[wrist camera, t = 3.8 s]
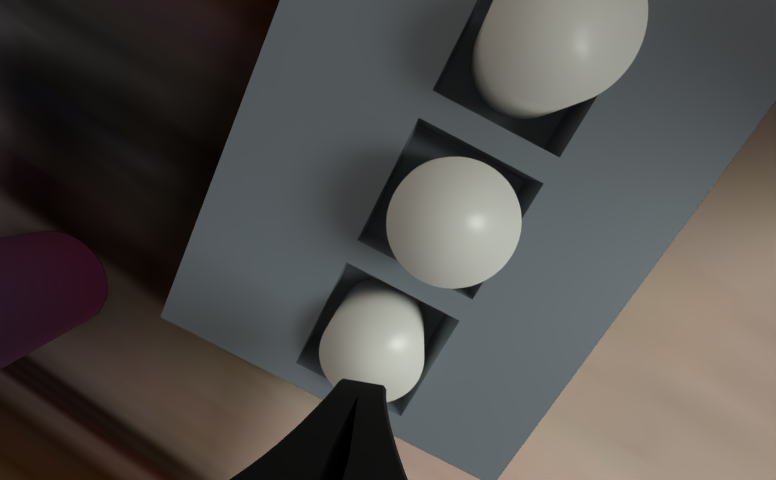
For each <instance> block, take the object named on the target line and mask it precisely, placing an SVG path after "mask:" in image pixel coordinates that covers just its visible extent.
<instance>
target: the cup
mask: <svg viewBox="0 0 776 480" xmlns="http://www.w3.org/2000/svg"><path fill="white" fill-rule="evenodd" d="M106 293H107V283H106V277H105V273H104V271H103V268H102V266H101V264H100V262H99V260H98V259H97V257H96V256H95V255H94V253H93V252H92V251H91V250H90V249H89V248H88V247H87V246H86V245H85V244H84V243H82V242H81V241H79V240H78V239H76V238H75V237H72V236H70V235H67V234H65V233H60V232H56V231H46V232H38V233H31V234H23V235H15V236H7V237H0V369H1V368H3V367H5V366H7V365H8V364H10V363H12V362H14V361H16V360H17V359H19V358H21V357H23V356H24V355H26V354H28V353H30V352H32V351H33V350H35V349H37V348H39V347H41V346H42V345H44V344H46V343H48V342H50V341H51V340H53V339H55V338H57V337H58V336H60V335H62V334H64V333H66V332H67V331H69V330H71V329H73V328H75V327H76V326H78V325H80V324H82V323H84V322H85V321H87V320H89V319H91V318H92V317H93V316H95V315H96V314H97V313H98V312H99V310H100V309H101V308H102V306H103V304H104V301H105V298H106Z"/></svg>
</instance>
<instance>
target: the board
mask: <svg viewBox="0 0 776 480" xmlns="http://www.w3.org/2000/svg"><path fill="white" fill-rule="evenodd" d="M492 2H493V0H280V1H279V4H278V7H277V9H276V12H275V15H274V17H273V20H272V23H271V25H270V28H269V30H268V33H267V36H266V38H265V41H264V44H263V46H262V49H261V52H260V54H259V57H258V60H257V62H256V65H255V68H254V70H253V73H252V76H251V78H250V81H249V83H248V86H247V89H246V91H245V94H244V97H243V99H242V102H241V105H240V107H239V110H238V113H237V115H236V118H235V121H234V123H233V126H232V129H231V131H230V134H229V136H228V139H227V142H226V144H225V147H224V150H223V152H222V155H221V158H220V160H219V163H218V166H217V168H216V171H215V174H214V176H213V179H212V182H211V184H210V187H209V189H208V192H207V195H206V197H205V200H204V203H203V205H202V208H201V211H200V213H199V216H198V219H197V221H196V224H195V227H194V229H193V232H192V234H191V237H190V240H189V242H188V245H187V248H186V250H185V253H184V256H183V258H182V261H181V264H180V266H179V269H178V272H177V274H176V277H175V280H174V282H173V285H172V287H171V290H170V293H169V295H168V298H167V301H166V303H165V306H164V309H163V311H162V314H161V318H163V319H165V320H167V321H169V322H171V323H173V324H175V325H177V326H179V327H181V328H183V329H185V330H187V331H189V332H191V333H193V334H195V335H197V336H199V337H200V338H202V339H204V340H206V341H208V342H210V343H212V344H214V345H216V346H218V347H220V348H222V349H224V350H226V351H228V352H230V353H232V354H234V355H236V356H238V357H240V358H242V359H244V360H246V361H248V362H250V363H252V364H254V365H256V366H258V367H260V368H262V369H264V370H266V371H268V372H270V373H271V374H273V375H275V376H277V377H279V378H281V379H283V380H285V381H287V382H289V383H291V384H293V385H295V386H297V387H299V388H301V389H303V390H305V391H307V392H309V393H311V394H313V395H315V396H317V397H319V398H321V399H323V400H324V398H325V397H326V396H327V395H328V394H329V393H330V392H331V390H332V389H333V388H334V386H333V385H332V384H331V383H330V382H329V381H328V379H327V377H326V376H325V374H324V372H323V370H322V367H321V364H320V359H319V346H320V342H321V338H322V336H323V333H324V331H325V330H326V328H327V326H328V324H329V323H330V321H331V319H332V317H333V316H334V314H335V312H336V310H337V308H338V307H339V305H340V303H341V301H342V300H343V298H344V296H345V295H346V293H347V292H348V291H349V290H350V289H351V288H352V287H353V286H355V285H356V284H358V283H360V282H362V281H364V280H367V279H372V278H378V279H380V280H381V281H383V282H385V283H387V284H389V285H391V286H393V287H395V288H397V289H399V290H401V291H403V292H405V293H407V294H409V295H411V296H412V297H414V298H416V299H418V300H419V302H420V304H421V307H422V310H423V316H424V366H423V371H422V373H421V376H420V378H419V380H418V382H417V383H416V384H415V386H414V387H413V388H412V389H411V390H410V391H409V392H408V393H406V394H405V395H403V396H402V397H400V398H398V399H396V400H393V401H390V402H387V409H388V415H389V420H390V425H391V429H392V433H393V435H394V436H396V437H398V438H400V439H402V440H404V441H406V442H408V443H410V444H412V445H413V446H415V447H417V448H419V449H421V450H423V451H425V452H427V453H429V454H431V455H433V456H435V457H437V458H439V459H441V460H443V461H445V462H447V463H449V464H451V465H453V466H455V467H457V468H459V469H461V470H463V471H465V472H467V473H469V474H471V475H473V476H475V477H477V478H479V479H481V480H497V479H498V478H499V476H500V475H501V474H502V472H503V471H504V470H505V468H506V467H507V466H508V464H509V463H510V461H511V460H512V459H513V457H514V456H515V455H516V453H517V452H518V451H519V449H520V448H521V446H522V445H523V444H524V442H525V441H526V440H527V438H528V437H529V436H530V434H531V433H532V432H533V430H534V429H535V427H536V426H537V425H538V423H539V422H540V421H541V419H542V418H543V417H544V415H545V414H546V413H547V411H548V410H549V408H550V407H551V406H552V404H553V403H554V402H555V400H556V399H557V398H558V396H559V395H560V393H561V392H562V391H563V389H564V388H565V387H566V385H567V384H568V383H569V381H570V380H571V379H572V377H573V376H574V374H575V373H576V372H577V370H578V369H579V368H580V366H581V365H582V364H583V362H584V361H585V359H586V358H587V357H588V355H589V354H590V353H591V351H592V350H593V349H594V347H595V346H596V345H597V343H598V342H599V340H600V339H601V338H602V336H603V335H604V334H605V332H606V331H607V330H608V328H609V327H610V325H611V324H612V323H613V321H614V320H615V319H616V317H617V316H618V315H619V313H620V312H621V311H622V309H623V308H624V306H625V305H626V304H627V302H628V301H629V300H630V298H631V297H632V296H633V294H634V293H635V292H636V290H637V289H638V287H639V286H640V285H641V283H642V282H643V281H644V279H645V278H646V277H647V275H648V274H649V272H650V271H651V270H652V268H653V267H654V266H655V264H656V263H657V262H658V260H659V259H660V258H661V256H662V255H663V253H664V252H665V251H666V249H667V248H668V247H669V245H670V244H671V243H672V241H673V240H674V238H675V237H676V236H677V234H678V233H679V232H680V230H681V229H682V228H683V226H684V225H685V224H686V222H687V221H688V219H689V218H690V217H691V215H692V214H693V213H694V211H695V210H696V209H697V207H698V206H699V204H700V203H701V202H702V200H703V199H704V198H705V196H706V195H707V194H708V192H709V191H710V190H711V188H712V187H713V185H714V184H715V183H716V181H717V180H718V179H719V177H720V176H721V175H722V173H723V172H724V170H725V169H726V168H727V166H728V165H729V164H730V162H731V161H732V160H733V158H734V157H735V156H736V154H737V153H738V151H739V150H740V149H741V147H742V146H743V145H744V143H745V142H746V141H747V139H748V138H749V137H750V135H751V134H752V132H753V131H754V130H755V128H756V127H757V126H758V124H759V123H760V122H761V120H762V119H763V117H764V116H765V115H766V113H767V112H768V111H769V109H770V108H771V107H772V105H773V104H774V103H775V101H776V0H648V21H647V27H646V32H645V35H644V39H643V42H642V44H641V47H640V49H639V51H638V53H637V55H636V57H635V59H634V60H633V62H632V63H631V65H630V66H629V68H628V69H627V70H626V72H625V73H624V74H623V75H622V76H621V77H620V78H619V79H618V80H617V81H616V82H615V83H614V84H613V85H612V86H610V87H609V88H608V89H606V90H605V91H603V92H602V93H600V94H598V95H596V96H595V97H593V98H590V99H588V100H585V101H583V102H580V103H577V104H575V105H572V106H569V107H566V108H564V109H561V110H558V111H555V112H553V113H550V114H547V115H544V116H541V117H538V118H533V119H515V118H510V117H506V116H504V115H502V114H499V113H498V112H496V111H494V110H493V109H492V108H491V107H489V106H488V105H487V104H486V103H485V102H484V100H483V99H482V98H481V96H480V95H479V93H478V91H477V89H476V87H475V84H474V81H473V77H472V72H471V56H472V50H473V46H474V43H475V40H476V38H477V35H478V33H479V31H480V29H481V26H482V24H483V22H484V20H485V18H486V15H487V13H488V11H489V9H490V6H491V4H492ZM444 157H466V158H471V159H475V160H478V161H481V162H483V163H485V164H487V165H489V166H491V167H492V168H494V169H495V170H497V171H498V172H499V173H500V174H501V175H502V176H503V177H504V178H505V179H506V180H507V181H508V182H509V184H510V185H511V187H512V188H513V190H514V192H515V194H516V196H517V199H518V202H519V205H520V209H521V218H522V225H521V233H520V238H519V241H518V244H517V246H516V249H515V251H514V253H513V254H512V256H511V258H510V259H509V260H508V262H507V263H506V264H505V265H504V266H503V267H502V269H501V270H499V271H498V272H497V273H496V274H495V275H493V276H492V277H490V278H489V279H487V280H485V281H483V282H481V283H479V284H476V285H473V286H470V287H465V288H456V289H450V288H440V287H435V286H432V285H429V284H426V283H424V282H422V281H420V280H418V279H417V278H415V277H414V276H412V275H411V274H410V273H408V272H407V271H406V270H405V269H404V268H403V267H402V266H401V264H400V263H399V262H398V260H397V259H396V257H395V255H394V254H393V252H392V249H391V247H390V245H389V241H388V237H387V230H386V218H387V211H388V207H389V204H390V201H391V199H392V196H393V194H394V192H395V191H396V189H397V187H398V186H399V185H400V183H401V182H402V181H403V180H404V179H405V177H406V176H407V175H408V174H409V173H410V172H411V171H412V170H414V169H415V168H416V167H418V166H419V165H421V164H423V163H425V162H427V161H430V160H433V159H437V158H444Z"/></svg>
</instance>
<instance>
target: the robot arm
mask: <svg viewBox="0 0 776 480" xmlns="http://www.w3.org/2000/svg"><path fill="white" fill-rule="evenodd" d="M230 480H408V479H407V477H406V474H405V471H404V469H403V466H402V463H401V460H400V457H399V454H398V451H397V447H396V444H395V440H394V437H393V433H392V429H391V425H390V420H389V415H388V409H387V401H386V388H385V387H384V385H379V384H373V383H367V382H361V381H355V380H349V379H344V378H343V379H341V380H340V381H339V382H338V383H337V384H336V385H335V387H334V388H333V389H332V390H331V392H330V393H329V394H328V395H327V396H326V397H325V398H324V400H323V401H322V402H321V403H320V404H319V405H318V406H317V407H316V408H315V409H314V410H313V411H312V412H311V413H310V414H309V415H308V416H307V417H306V418H305V419H304V420H303V421H302V422H301V423H300V424H299V425H298V426H297V427H296V428H295V429H294V430H293V431H291V432H290V433H289V434H288V435H287V436H286V437H285V438H284V439H283V440H281V441H280V442H279V443H278V444H277V445H276V446H274V447H273V448H272V449H271V450H269V451H268V452H267V453H266V454H264V455H263V456H262V457H261V458H259V459H258V460H257V461H255V462H254V463H253V464H251V465H250V466H249V467H247V468H246V469H244V470H243V471H241V472H240V473H239V474H237V475H236V476H234V477H233V478H231V479H230Z"/></svg>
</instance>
